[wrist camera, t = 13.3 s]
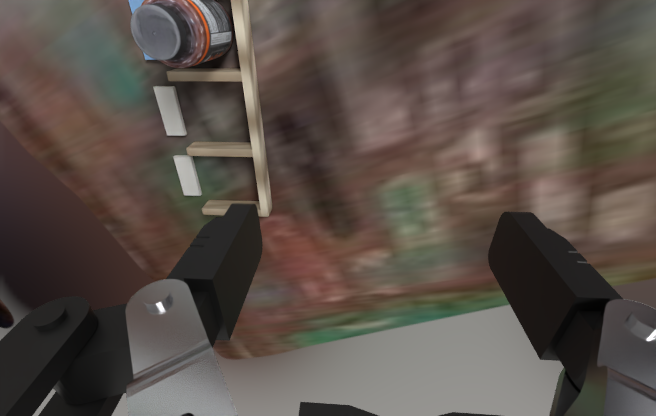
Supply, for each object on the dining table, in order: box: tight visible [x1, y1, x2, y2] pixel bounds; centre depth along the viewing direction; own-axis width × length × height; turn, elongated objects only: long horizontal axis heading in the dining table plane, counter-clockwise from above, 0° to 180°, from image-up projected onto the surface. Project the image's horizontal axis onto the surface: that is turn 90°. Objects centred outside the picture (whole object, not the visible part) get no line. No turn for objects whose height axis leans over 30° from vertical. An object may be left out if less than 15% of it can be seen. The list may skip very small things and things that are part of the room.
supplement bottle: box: [131, 0, 233, 68], centre depth 30 cm, size 6×6×11 cm
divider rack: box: [166, 0, 272, 217], centre depth 38 cm, size 28×10×2 cm, turn 0°
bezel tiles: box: [129, 0, 202, 196], centre depth 39 cm, size 24×2×1 cm, turn 0°
